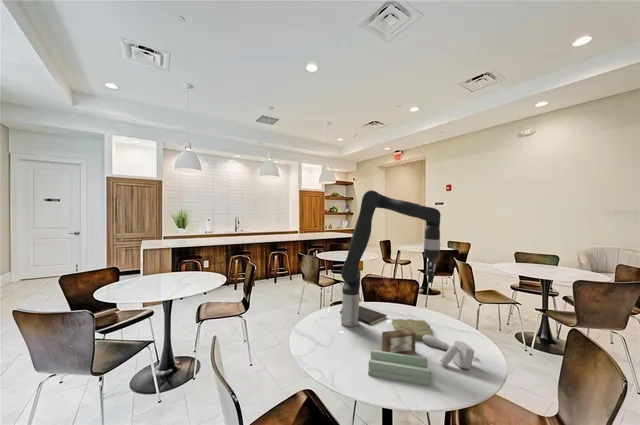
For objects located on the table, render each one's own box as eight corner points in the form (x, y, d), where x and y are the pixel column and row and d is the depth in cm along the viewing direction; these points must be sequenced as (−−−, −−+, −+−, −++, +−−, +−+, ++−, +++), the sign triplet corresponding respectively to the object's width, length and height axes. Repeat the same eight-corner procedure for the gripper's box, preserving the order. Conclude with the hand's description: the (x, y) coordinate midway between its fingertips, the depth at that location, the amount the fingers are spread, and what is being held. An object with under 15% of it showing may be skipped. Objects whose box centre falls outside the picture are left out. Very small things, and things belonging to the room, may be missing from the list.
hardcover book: (357, 308, 179) (357, 304, 179) (386, 318, 162) (386, 315, 162) (339, 314, 168) (339, 310, 168) (369, 326, 151) (369, 322, 151)
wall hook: (434, 359, 116) (440, 336, 116) (457, 364, 117) (462, 341, 117) (444, 370, 108) (450, 345, 108) (468, 375, 109) (475, 350, 109)
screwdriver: (478, 368, 114) (478, 359, 113) (420, 343, 132) (420, 336, 131) (482, 361, 117) (482, 352, 116) (425, 338, 135) (424, 331, 134)
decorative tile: (398, 340, 135) (398, 333, 135) (391, 323, 155) (391, 317, 154) (437, 343, 133) (437, 335, 133) (426, 325, 153) (426, 319, 153)
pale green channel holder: (368, 374, 106) (368, 363, 106) (371, 358, 117) (371, 348, 117) (429, 385, 99) (429, 373, 99) (426, 367, 111) (426, 356, 111)
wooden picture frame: (386, 357, 119) (386, 336, 119) (381, 351, 123) (382, 331, 123) (415, 353, 122) (415, 333, 122) (410, 348, 126) (410, 328, 126)
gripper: (425, 246, 145) (424, 276, 145) (422, 249, 132) (421, 282, 132) (440, 247, 141) (439, 278, 142) (439, 250, 129) (438, 285, 129)
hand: (431, 280), depth 137 cm, fingers open, 8 cm apart
